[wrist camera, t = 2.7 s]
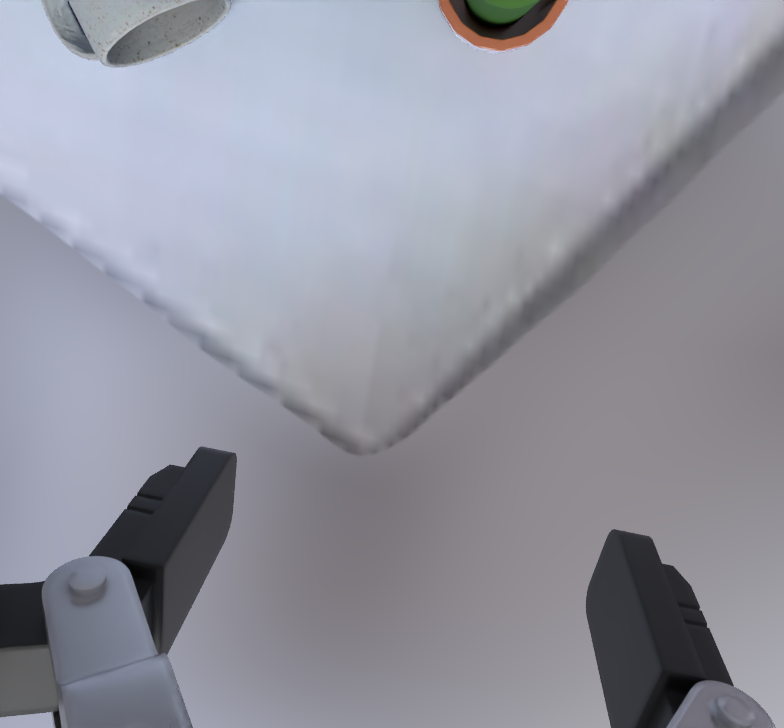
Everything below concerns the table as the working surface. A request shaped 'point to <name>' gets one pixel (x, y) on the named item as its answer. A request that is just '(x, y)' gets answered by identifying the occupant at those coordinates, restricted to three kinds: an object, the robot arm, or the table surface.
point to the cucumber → (498, 11)
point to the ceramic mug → (132, 27)
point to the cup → (501, 38)
